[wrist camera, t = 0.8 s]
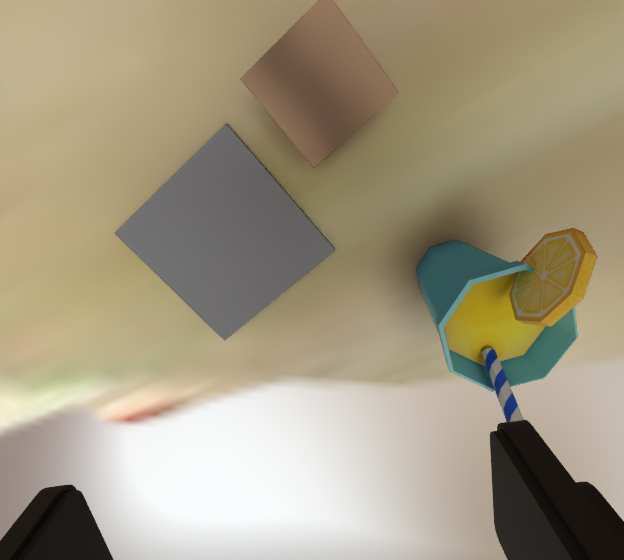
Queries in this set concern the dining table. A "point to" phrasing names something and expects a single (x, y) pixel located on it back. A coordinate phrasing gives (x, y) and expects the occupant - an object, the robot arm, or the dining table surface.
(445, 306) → the cup
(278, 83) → the brown box with pegs
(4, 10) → the dining table surface
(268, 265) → the mat
